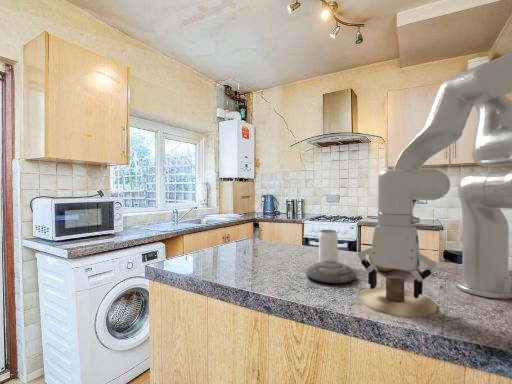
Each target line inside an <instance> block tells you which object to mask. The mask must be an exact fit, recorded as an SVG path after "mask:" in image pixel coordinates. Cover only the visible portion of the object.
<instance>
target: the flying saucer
mask: <svg viewBox="0 0 512 384" xmlns="http://www.w3.org/2000/svg"><path fill="white" fill-rule="evenodd" d="M305 275H306V276H307V277H308V278H310V279H312V280H315V281H318V282H322V283H329V284H343V283H347V282H351V281H354V280H355V279H356V278H357V274H356V272H355V271H354V270H353V269H352V268H351V267H350V266H348V265H346V264H345V263H342V262H339V261H338V262H336V261H332V260H327V261H323V262H319V261H318V262H316V263H313V264H312V265H310V266H309V267H308V268H307V269H306V271H305Z"/></svg>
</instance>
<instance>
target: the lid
mask: <svg viewBox="0 0 512 384" xmlns="http://www.w3.org/2000/svg"><path fill="white" fill-rule="evenodd" d="M357 300H358V301H359V302H360V303H361V304H362V305H363V306H365V307H367V308H369V309H372V310H374V311H376V312H379V313H382V314H386V315H391V316H395V317H403V318H404V317H405V318H422V317H424V318H425V317H429V316H431V315H433V314H435V313H436V312H437V311H438V310H437V304H436V302H435V301H434V300H432V299H431V298H429V297H427V296H425V295H424V294H422V295H421V294H419V297H418V298H415V297H414V291H411V290H406V289H405V278H403V277H400V276H393V275H392V276H391V275H390V276H386V277H385V287H375V288H374V289H370V287H369V288H365V289H362V290H360V291H359V292H358V293H357Z"/></svg>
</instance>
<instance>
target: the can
mask: <svg viewBox="0 0 512 384" xmlns="http://www.w3.org/2000/svg"><path fill="white" fill-rule="evenodd" d="M338 238H339V237H338V233H337V231H336V230H333V229H321V230H320V231H319V235H318V262H323V261H327V260H332V261H336V262H339V257H338V256H339V254H338V252H339V251H338V250H339V249H338V248H339V247H338V246H339V244H338Z"/></svg>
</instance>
